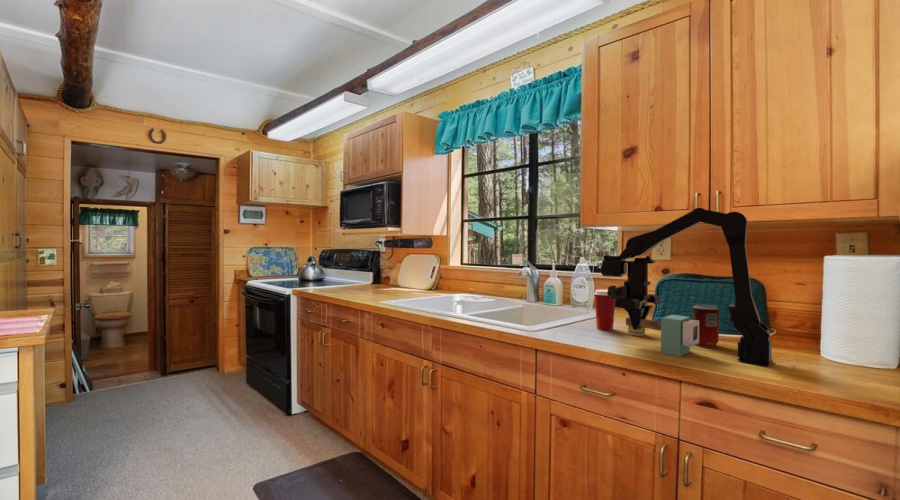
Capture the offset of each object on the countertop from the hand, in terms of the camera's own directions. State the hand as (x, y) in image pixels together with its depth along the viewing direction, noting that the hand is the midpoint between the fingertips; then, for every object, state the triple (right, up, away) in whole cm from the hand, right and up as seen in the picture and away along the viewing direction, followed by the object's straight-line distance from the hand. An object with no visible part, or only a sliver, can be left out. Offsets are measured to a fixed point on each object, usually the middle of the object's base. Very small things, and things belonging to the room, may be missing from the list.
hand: (637, 329), depth 129 cm
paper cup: (-1, -5, +26) cm, 26 cm away
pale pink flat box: (+10, -2, -11) cm, 15 cm away
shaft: (+4, +1, -5) cm, 6 cm away
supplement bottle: (+7, -5, +16) cm, 18 cm away
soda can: (+21, -5, +1) cm, 22 cm away
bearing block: (+8, -5, -8) cm, 12 cm away
